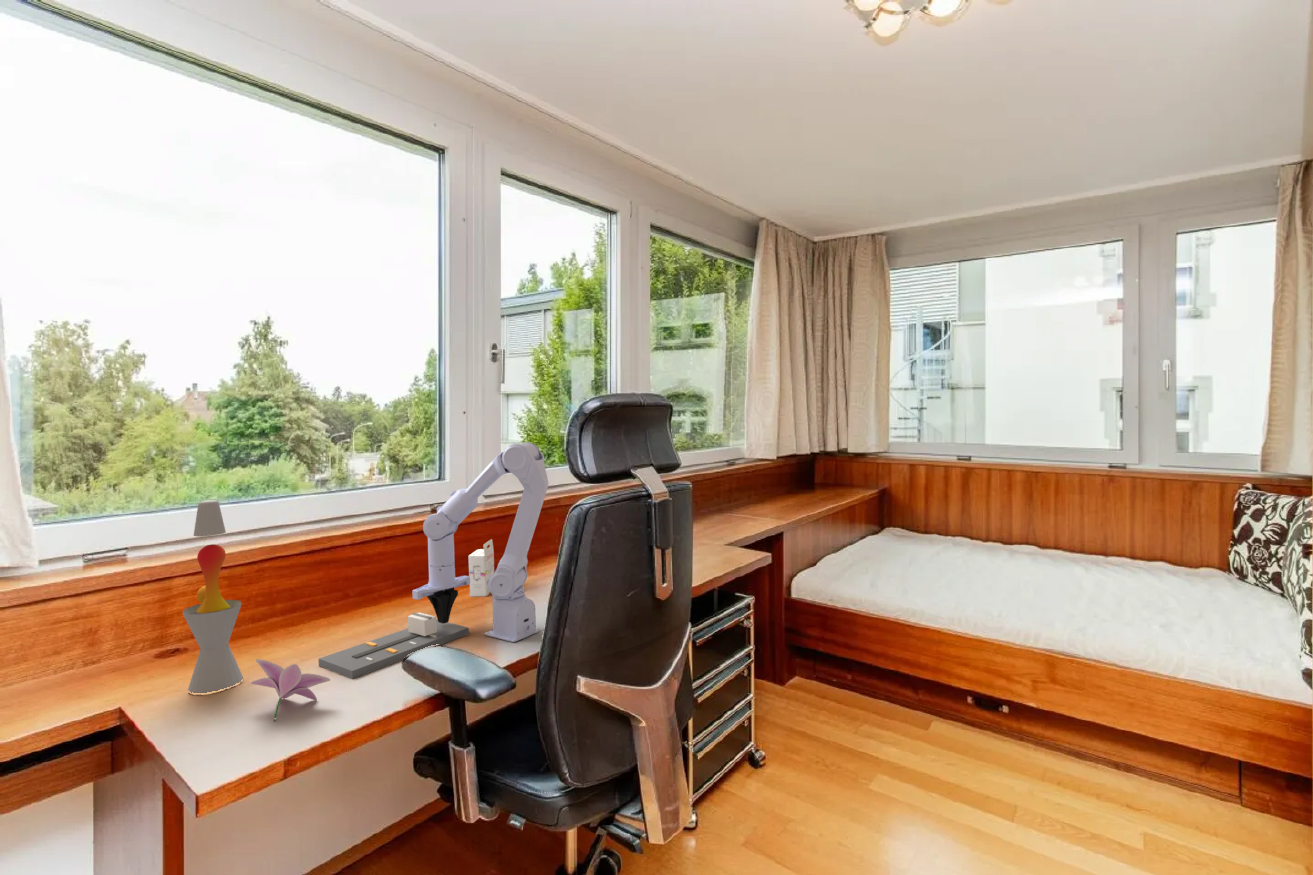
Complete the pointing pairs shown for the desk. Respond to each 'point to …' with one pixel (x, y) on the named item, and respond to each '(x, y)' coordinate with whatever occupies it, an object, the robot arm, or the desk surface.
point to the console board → (387, 650)
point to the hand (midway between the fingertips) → (443, 622)
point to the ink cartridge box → (481, 569)
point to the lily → (288, 680)
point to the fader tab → (422, 624)
